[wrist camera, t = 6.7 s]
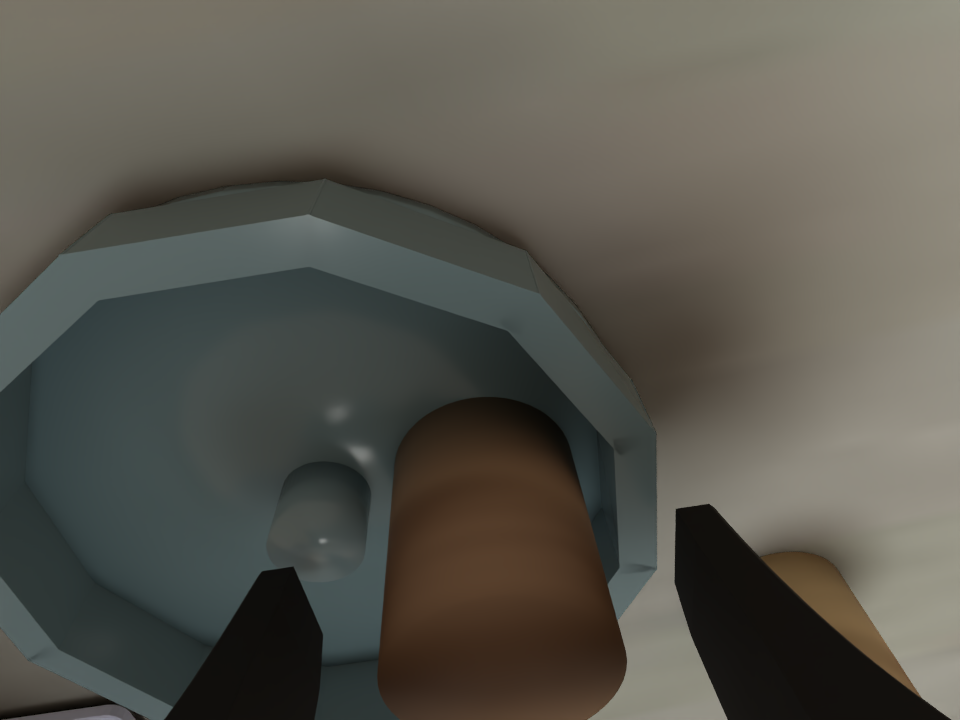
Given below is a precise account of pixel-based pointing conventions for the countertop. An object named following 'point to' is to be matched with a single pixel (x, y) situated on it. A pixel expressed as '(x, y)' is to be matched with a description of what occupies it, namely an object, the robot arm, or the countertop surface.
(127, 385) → the ring dish
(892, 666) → the oak bead
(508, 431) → the walnut bead
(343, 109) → the countertop surface
